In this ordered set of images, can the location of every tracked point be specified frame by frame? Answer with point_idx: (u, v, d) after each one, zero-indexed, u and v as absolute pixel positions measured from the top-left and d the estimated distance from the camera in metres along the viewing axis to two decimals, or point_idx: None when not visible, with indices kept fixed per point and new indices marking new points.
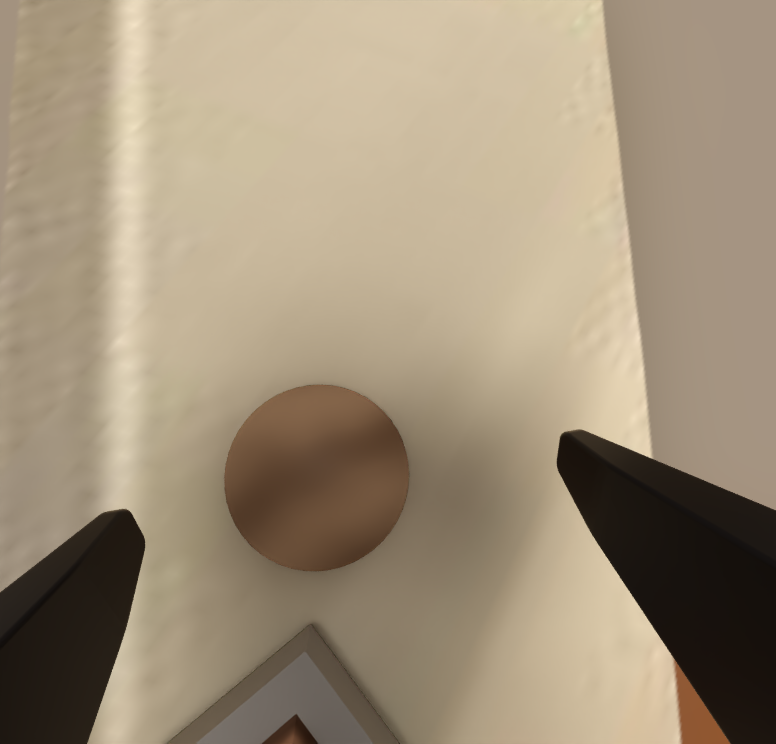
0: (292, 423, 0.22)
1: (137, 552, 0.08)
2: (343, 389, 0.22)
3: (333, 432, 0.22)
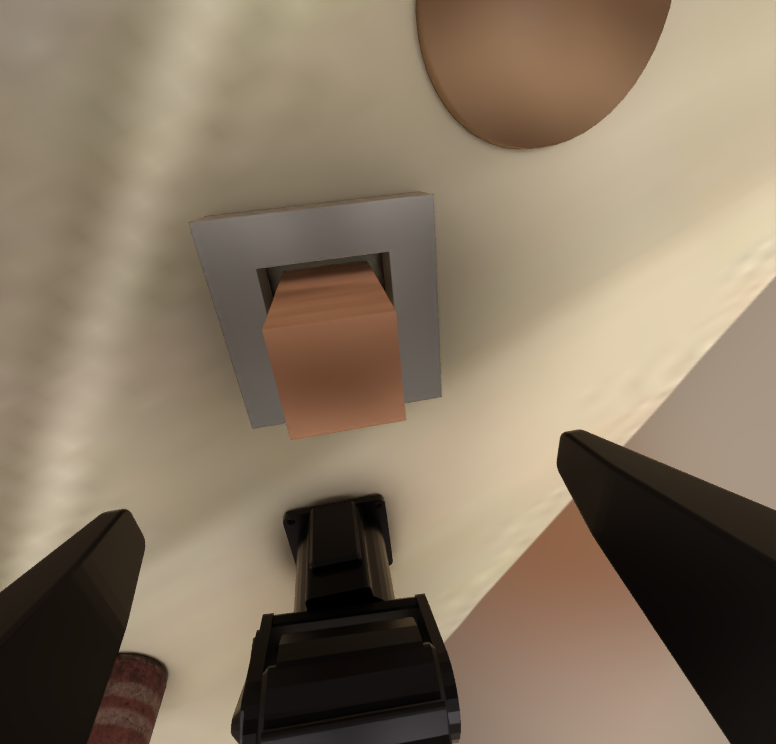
0: None
1: (137, 552, 0.08)
2: None
3: None
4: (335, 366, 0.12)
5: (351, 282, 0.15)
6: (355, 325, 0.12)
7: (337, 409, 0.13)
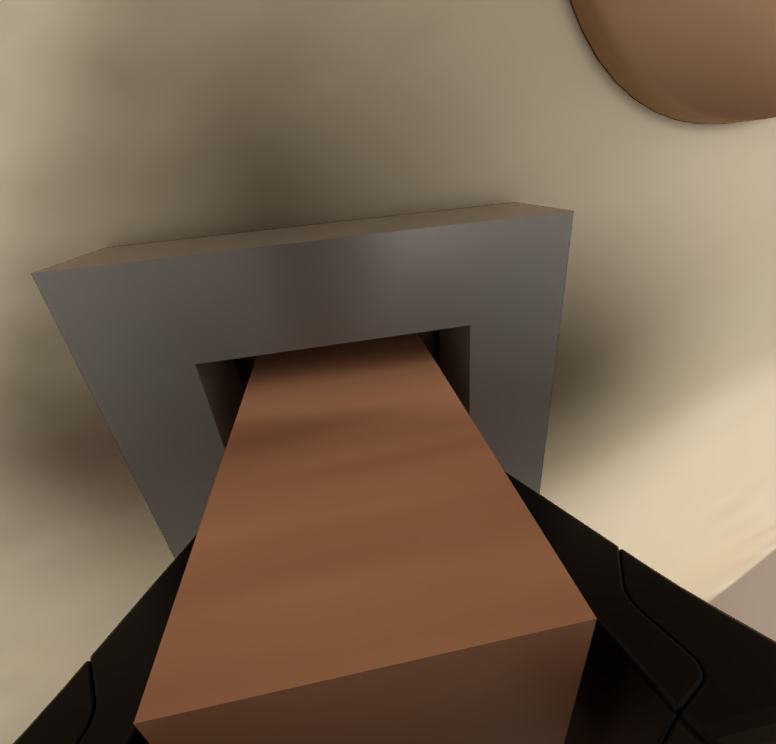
0: None
1: None
2: None
3: None
4: None
5: (399, 402, 0.07)
6: (460, 667, 0.04)
7: None
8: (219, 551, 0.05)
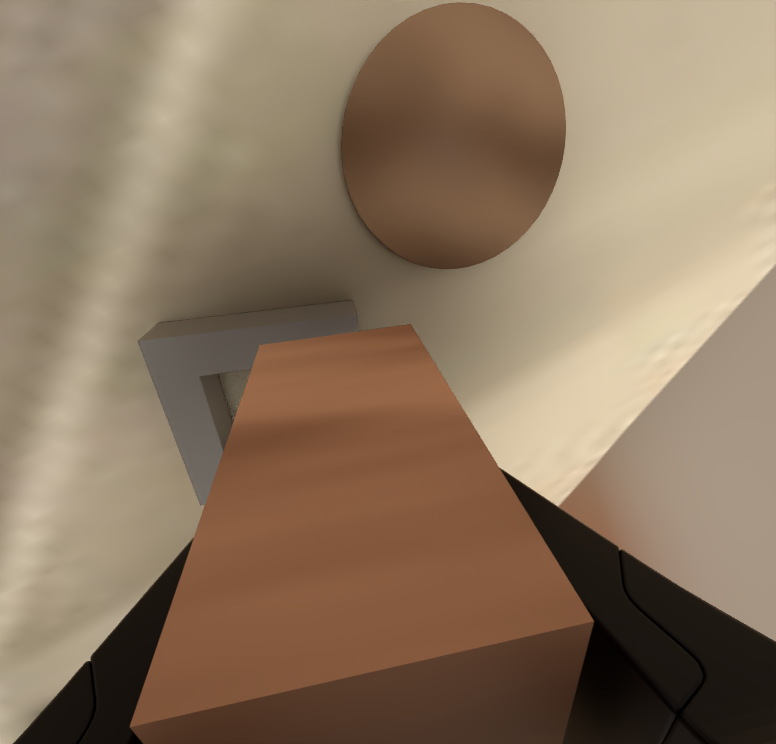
0: (471, 60, 0.16)
1: None
2: (549, 63, 0.16)
3: (504, 111, 0.17)
4: None
5: (398, 403, 0.07)
6: (457, 669, 0.04)
7: None
8: (216, 553, 0.05)
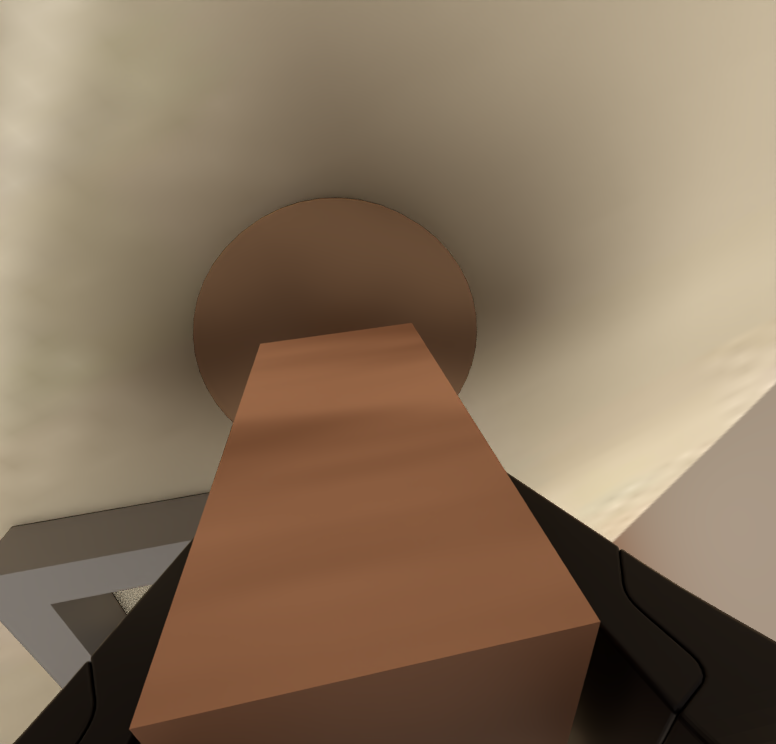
0: (346, 258, 0.13)
1: None
2: (447, 253, 0.13)
3: (396, 305, 0.14)
4: None
5: (399, 402, 0.07)
6: (461, 670, 0.04)
7: None
8: (217, 553, 0.05)
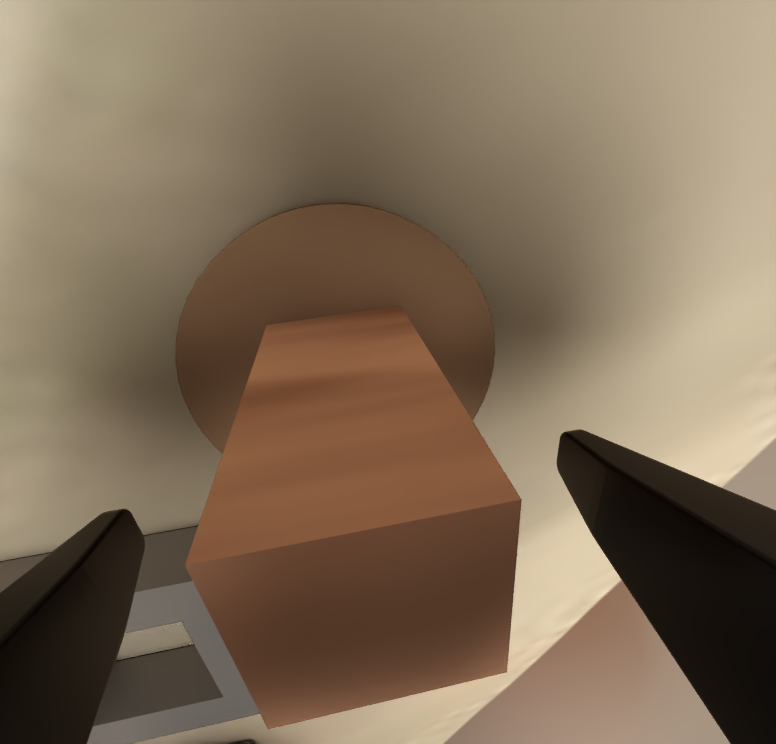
0: (350, 272, 0.11)
1: (137, 552, 0.08)
2: (463, 266, 0.12)
3: None
4: (368, 610, 0.05)
5: (386, 366, 0.08)
6: (420, 536, 0.05)
7: (369, 674, 0.06)
8: (239, 469, 0.06)
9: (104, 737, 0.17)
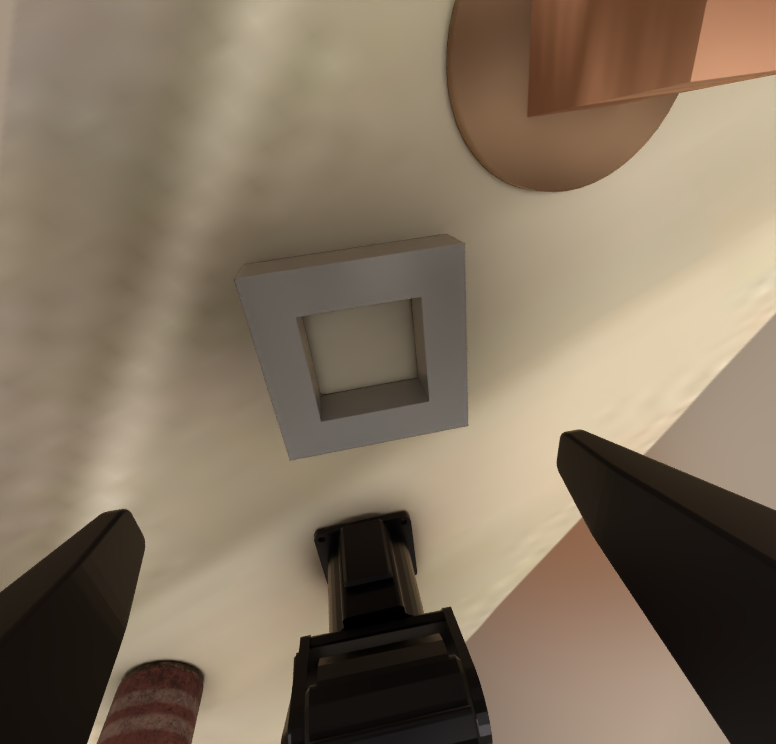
0: None
1: (137, 552, 0.08)
2: None
3: None
4: None
5: None
6: None
7: (772, 23, 0.09)
8: None
9: (329, 436, 0.20)
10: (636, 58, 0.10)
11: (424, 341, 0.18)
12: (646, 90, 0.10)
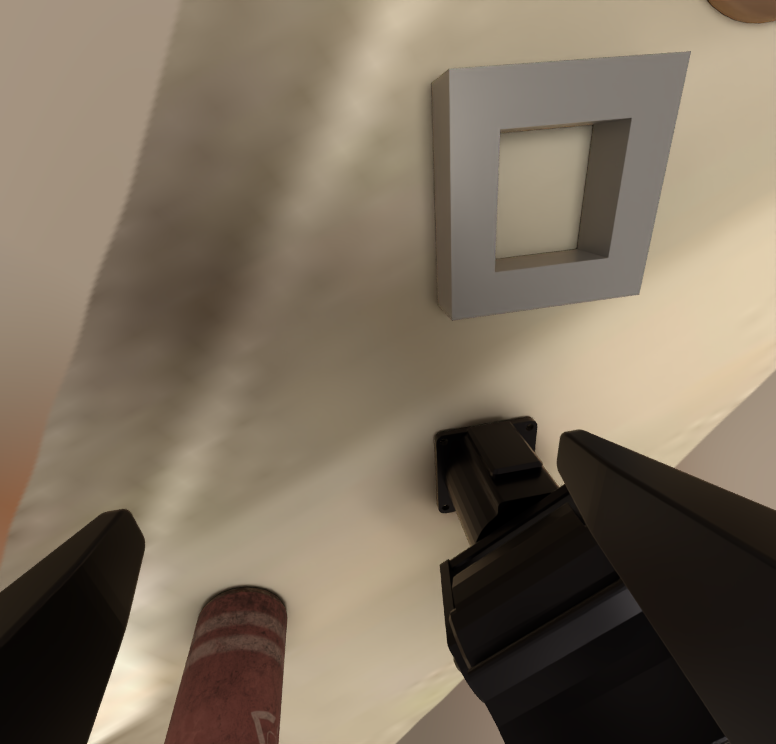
0: None
1: (137, 552, 0.08)
2: None
3: None
4: None
5: None
6: None
7: None
8: None
9: (499, 293, 0.18)
10: None
11: (619, 179, 0.17)
12: None
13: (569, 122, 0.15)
